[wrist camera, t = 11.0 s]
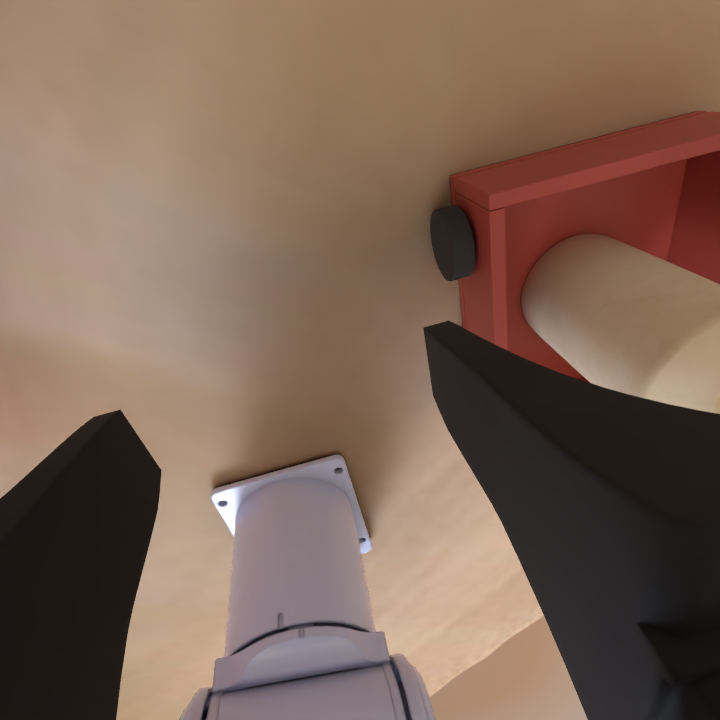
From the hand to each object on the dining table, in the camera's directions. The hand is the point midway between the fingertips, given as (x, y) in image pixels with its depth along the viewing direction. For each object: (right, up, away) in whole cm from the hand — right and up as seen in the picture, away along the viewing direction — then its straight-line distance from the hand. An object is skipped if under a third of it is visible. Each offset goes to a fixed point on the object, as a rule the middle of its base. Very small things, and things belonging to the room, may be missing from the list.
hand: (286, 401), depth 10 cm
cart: (+12, +5, +12) cm, 18 cm away
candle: (+12, +5, +11) cm, 18 cm away
